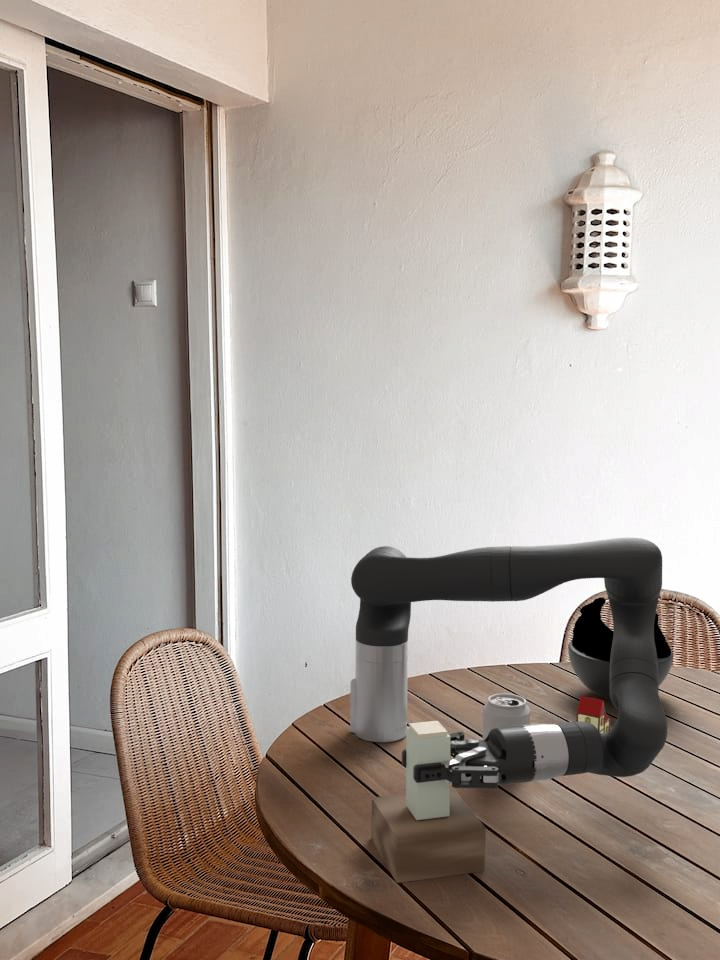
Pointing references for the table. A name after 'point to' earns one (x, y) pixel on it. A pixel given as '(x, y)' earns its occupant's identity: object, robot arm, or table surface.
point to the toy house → (593, 713)
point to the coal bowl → (605, 649)
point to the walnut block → (427, 840)
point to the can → (504, 712)
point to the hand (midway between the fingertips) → (408, 766)
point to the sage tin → (424, 748)
